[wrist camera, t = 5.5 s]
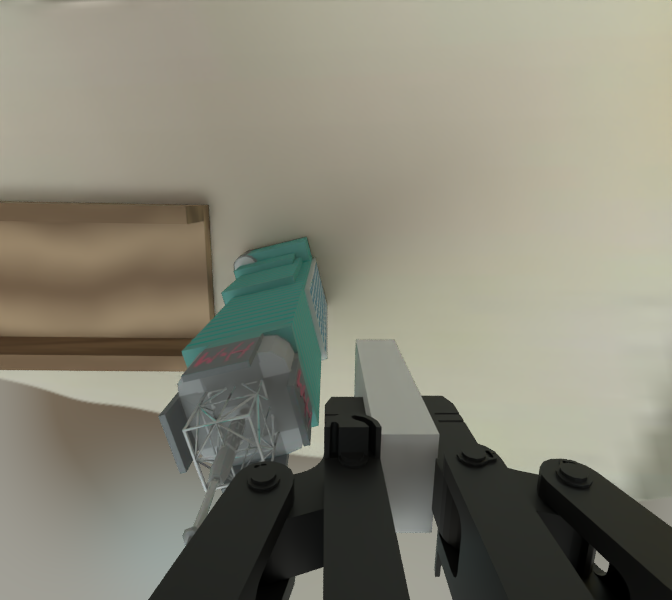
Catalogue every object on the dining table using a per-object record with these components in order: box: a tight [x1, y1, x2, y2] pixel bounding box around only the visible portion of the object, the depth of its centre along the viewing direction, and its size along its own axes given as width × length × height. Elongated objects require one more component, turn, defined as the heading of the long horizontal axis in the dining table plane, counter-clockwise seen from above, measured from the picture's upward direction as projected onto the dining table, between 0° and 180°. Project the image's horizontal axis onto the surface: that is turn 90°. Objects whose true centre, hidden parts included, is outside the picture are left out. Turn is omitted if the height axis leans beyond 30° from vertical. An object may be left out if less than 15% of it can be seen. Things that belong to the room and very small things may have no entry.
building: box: [159, 237, 328, 547], centre depth 20 cm, size 6×6×30 cm
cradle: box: [0, 201, 215, 371], centre depth 31 cm, size 12×28×6 cm, turn 89°
